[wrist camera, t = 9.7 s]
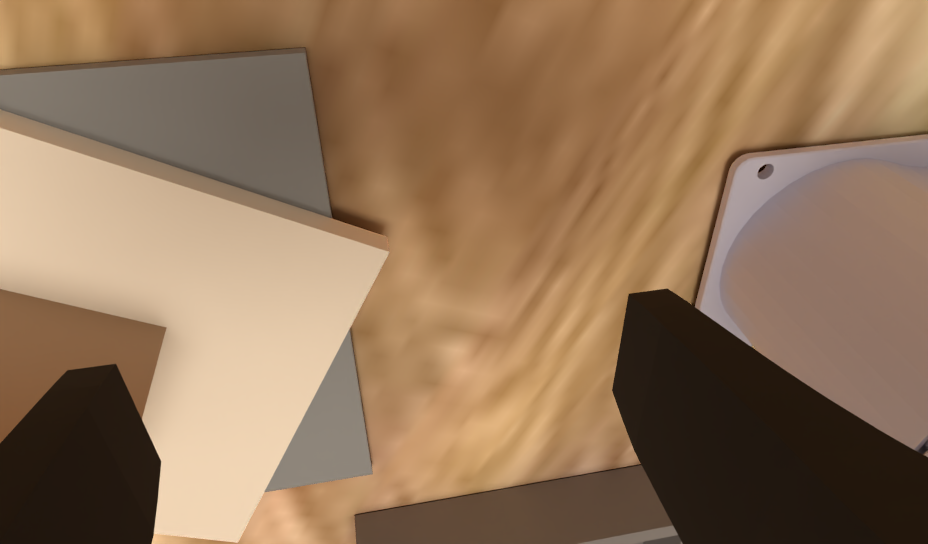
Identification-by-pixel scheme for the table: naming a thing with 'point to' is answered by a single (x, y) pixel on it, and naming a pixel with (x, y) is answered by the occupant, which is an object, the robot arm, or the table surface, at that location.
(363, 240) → the lid
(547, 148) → the table surface
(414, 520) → the storage box
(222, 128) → the slate mat
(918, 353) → the robot arm
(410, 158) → the table surface
